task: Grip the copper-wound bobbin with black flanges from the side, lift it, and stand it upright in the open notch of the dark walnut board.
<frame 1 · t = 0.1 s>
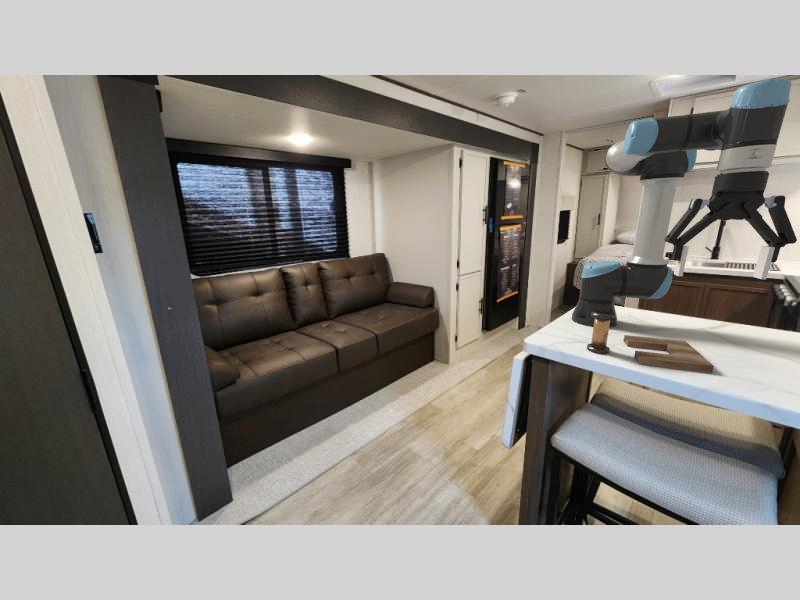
hand: (717, 276, 69), 28 cm above the counter, tool pointing down, fingers open, 13 cm apart
notched board: (662, 354, 95), on the counter
bobbin: (597, 350, 100), on the counter
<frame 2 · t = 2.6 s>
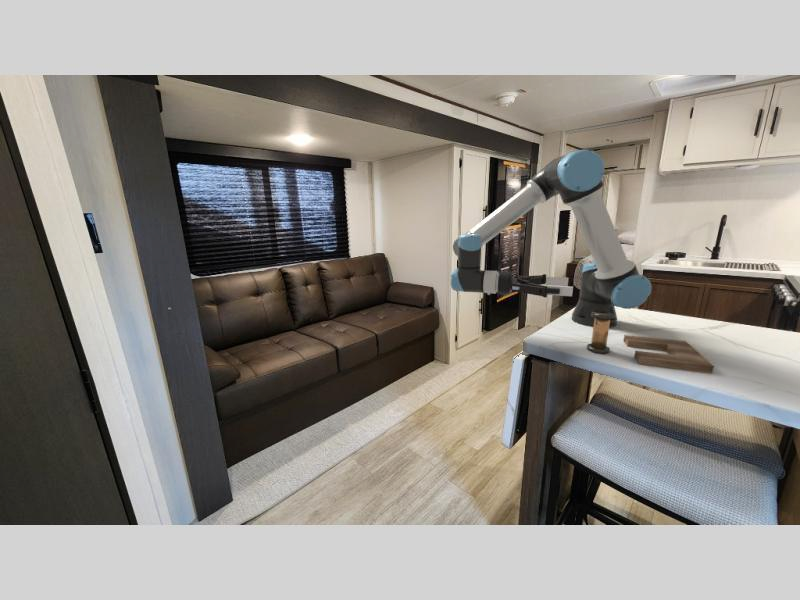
hand: (570, 286, 98), 20 cm above the counter, tool horizontal, fingers open, 13 cm apart
nothing on the counter moved.
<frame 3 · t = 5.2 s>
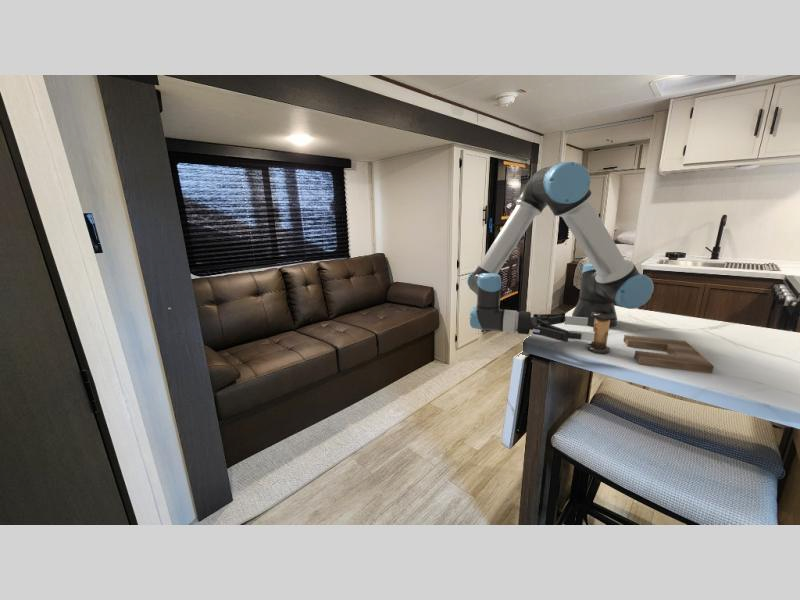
hand: (590, 328, 98), 7 cm above the counter, tool horizontal, fingers open, 13 cm apart
nothing on the counter moved.
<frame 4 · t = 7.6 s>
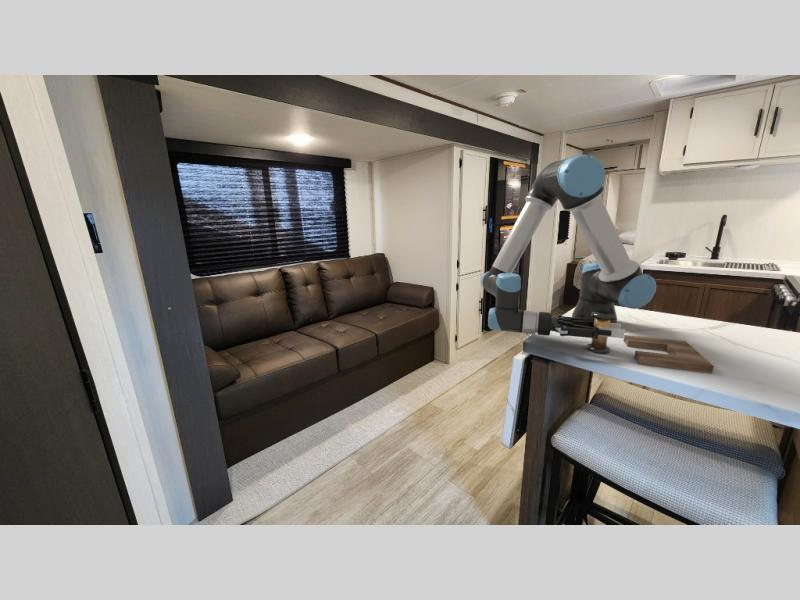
hand: (621, 330, 96), 7 cm above the counter, tool horizontal, fingers closed on bobbin, 4 cm apart
bobbin: (597, 350, 100), on the counter, touching gripper
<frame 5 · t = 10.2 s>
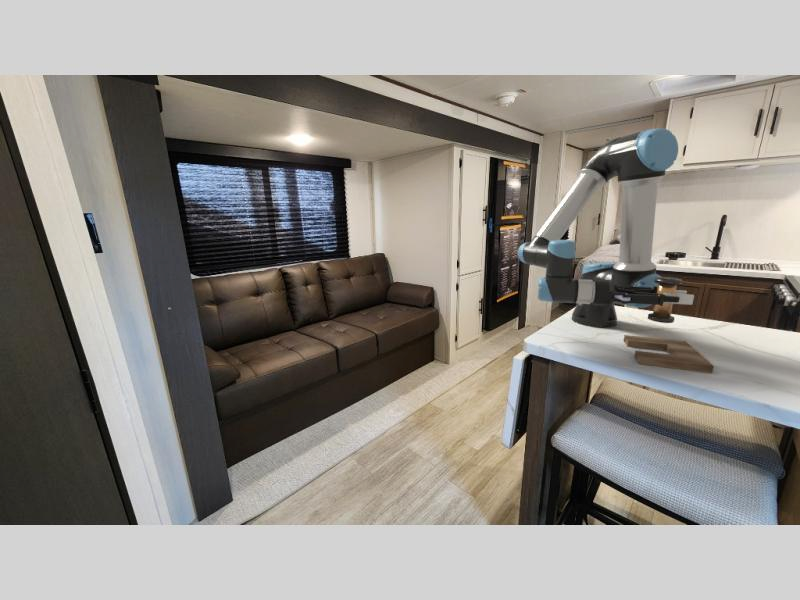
hand: (688, 297, 89), 18 cm above the counter, tool horizontal, fingers closed on bobbin, 4 cm apart
bobbin: (660, 319, 93), point 11 cm above the counter, touching gripper
when the fingers open (8 cm above the counter, at t = 12.7 s): bobbin drops 1 cm, resting in notched board.
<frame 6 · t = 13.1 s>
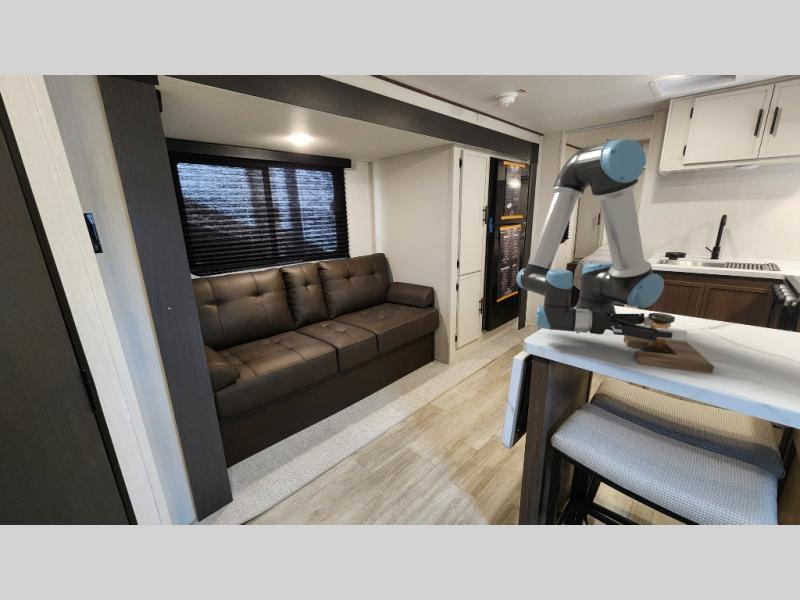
hand: (677, 328, 92), 9 cm above the counter, tool horizontal, fingers open, 10 cm apart
bobbin: (654, 354, 96), resting in notched board
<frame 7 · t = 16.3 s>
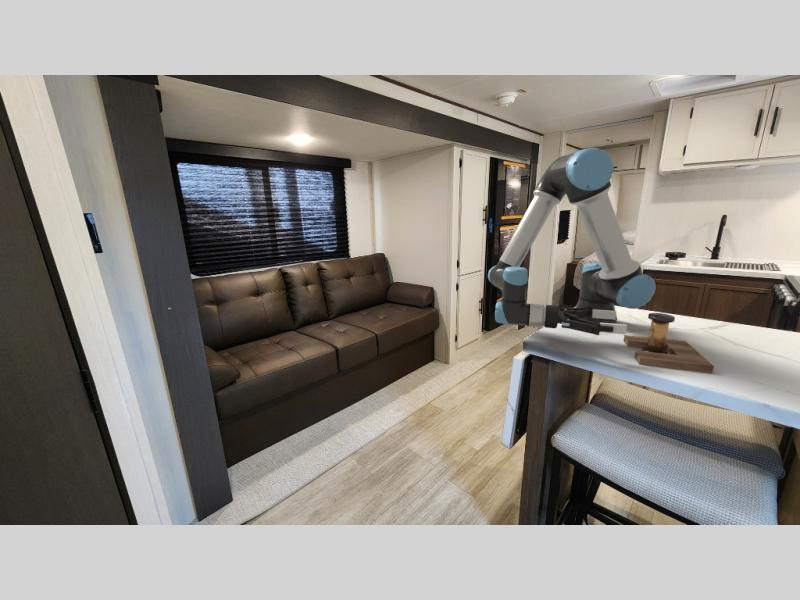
hand: (620, 322, 97), 9 cm above the counter, tool horizontal, fingers open, 13 cm apart
nothing on the counter moved.
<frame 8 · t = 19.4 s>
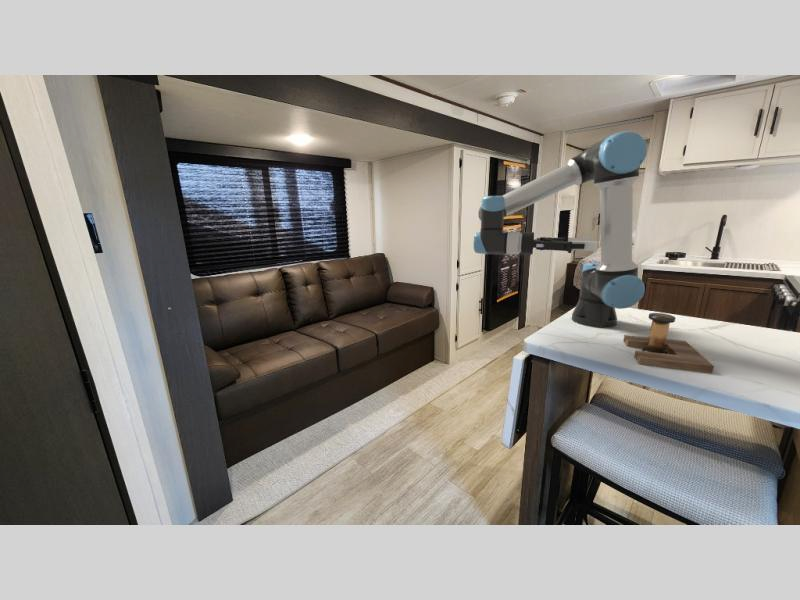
hand: (593, 243, 100), 32 cm above the counter, tool horizontal, fingers open, 13 cm apart
nothing on the counter moved.
at the end: bobbin 1.1 cm from the target spot on the notched board, point 0.0 cm above the notched board's base; bobbin tilted 0°; the gripper is holding nothing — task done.
